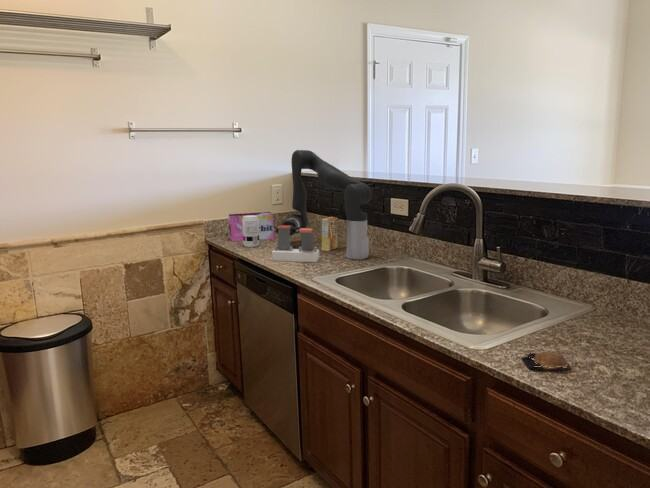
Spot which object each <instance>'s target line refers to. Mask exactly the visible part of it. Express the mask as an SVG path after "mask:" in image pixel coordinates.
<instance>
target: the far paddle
mask: <svg viewBox="0 0 650 488" xmlns="http://www.w3.org/2000/svg"><path fill="white" fill-rule="evenodd" d="M277 227H278V234H277V246H278V250H289V247H290V242H291V241H290V240H291V239H290V238H291V236H290V226H283V225H282V224H281V225H277Z"/></svg>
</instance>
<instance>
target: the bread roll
mask: <svg viewBox="0 0 650 488" xmlns="http://www.w3.org/2000/svg"><path fill="white" fill-rule="evenodd" d="M527 356H528V357H527ZM527 356H525V357H524V356H523V357H521V361H522V363H524V366H525V368H527V369H528V370H530V371H532V372H535V373H546V374H547V373H557V374H558V373H559V374H560V373H562V374H564V373H575V372H576V369H575V368H574V367H573V366H571V364H569V363H568V362H567V360H566V359H565V357H564V356H562V355H561V354H560V353H557V352H549V351H548V352H547V351H543V352H539V353H538V352H537V353H535V352H530V353H529V354H527ZM529 357H530V358H529ZM531 358H534V359H535V361H534V360H532V359H531ZM535 362H536V363H537V364H536V363H535ZM567 363H568V366H567V368H563V367H556V366H565V365H566V364H567ZM541 365H543V366H547V367H543V366H541ZM534 366H541V367H534ZM549 367H554V368H549Z"/></svg>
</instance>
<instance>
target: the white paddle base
mask: <svg viewBox="0 0 650 488" xmlns="http://www.w3.org/2000/svg"><path fill="white" fill-rule="evenodd" d="M319 260H320V249H318V247H317V246H314V251H302V246H298V248H293V246H292V245H289V250H278V245H275V246H274V249H273V250H272V251H271V261H273V262H300V263H301V262H302V263H318V261H319Z"/></svg>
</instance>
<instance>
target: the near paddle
mask: <svg viewBox="0 0 650 488" xmlns="http://www.w3.org/2000/svg"><path fill="white" fill-rule="evenodd" d="M313 232H314V231H313V228H309V227H308V228H307V227H306V228H301V229H300V233H299V234H300V239H301V240H300V242H301V243H300V244H301V247H302V251H314V247H315V246H314V236H313V234H314V233H313Z"/></svg>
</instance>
